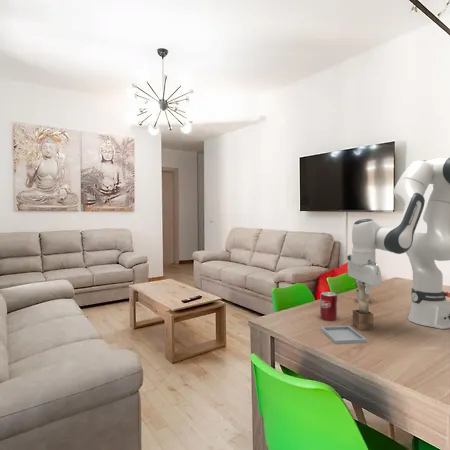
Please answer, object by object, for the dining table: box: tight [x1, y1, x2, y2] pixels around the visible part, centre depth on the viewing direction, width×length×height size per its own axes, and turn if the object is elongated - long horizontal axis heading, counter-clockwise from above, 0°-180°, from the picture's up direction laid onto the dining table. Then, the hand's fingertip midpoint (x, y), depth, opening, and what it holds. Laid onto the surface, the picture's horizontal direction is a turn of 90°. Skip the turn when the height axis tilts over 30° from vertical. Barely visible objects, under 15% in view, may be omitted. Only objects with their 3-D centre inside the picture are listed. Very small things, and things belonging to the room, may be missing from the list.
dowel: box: [358, 285, 370, 314], centre depth 132 cm, size 4×4×12 cm
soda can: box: [319, 291, 338, 322], centre depth 144 cm, size 7×7×12 cm
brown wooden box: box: [351, 309, 374, 332], centre depth 132 cm, size 6×6×8 cm
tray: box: [320, 325, 368, 345], centre depth 124 cm, size 12×14×2 cm
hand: (363, 292), depth 132 cm, fingers closed on dowel, 4 cm apart
